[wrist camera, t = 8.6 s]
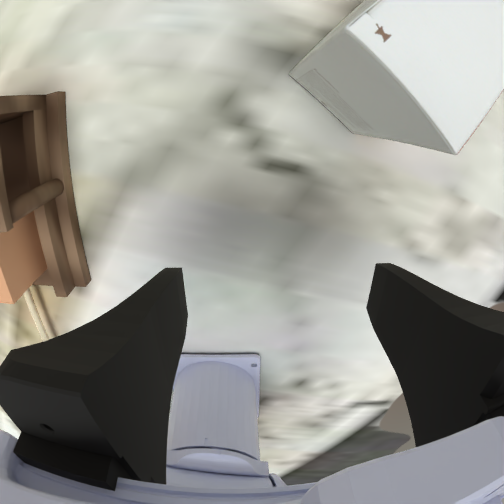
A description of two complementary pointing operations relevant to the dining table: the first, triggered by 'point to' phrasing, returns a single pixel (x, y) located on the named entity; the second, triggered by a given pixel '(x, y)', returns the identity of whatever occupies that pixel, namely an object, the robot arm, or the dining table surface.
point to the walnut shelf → (41, 184)
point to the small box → (411, 69)
